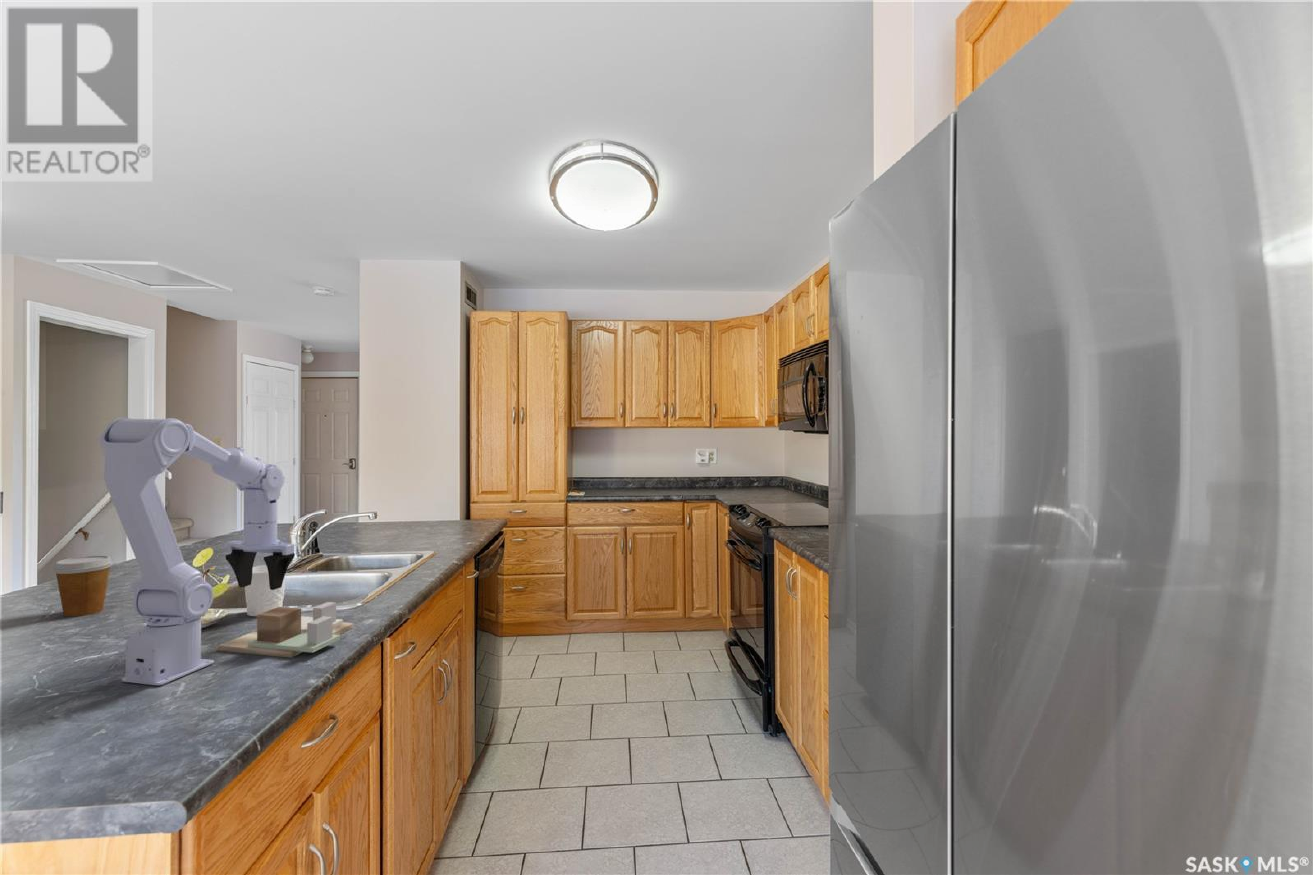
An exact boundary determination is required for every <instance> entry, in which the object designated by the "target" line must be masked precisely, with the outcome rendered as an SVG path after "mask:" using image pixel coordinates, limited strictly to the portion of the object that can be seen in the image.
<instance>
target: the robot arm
mask: <svg viewBox="0 0 1313 875" xmlns="http://www.w3.org/2000/svg"><path fill="white" fill-rule="evenodd" d="M97 441H98V443H99V445H100V448H101V451H102V454H103V456H104V470H103V472H104V473H103V477H104V478H103V480H104V483H105V485H106V489H107V491H108V493H109V495H110V499H111V500H112V503H113V506H114V507H115V510H116V513H117V515H118V518H119V520H120V522H121V525H122V527H123V530H124V532H125V535H126V537H127V540H128V542H129V544H130V547H131V549H132V553H133V554H134V557H135V559H136V562H137V564H138V566H139V567H138V568H139V569H140V572H141V574H140V575H139V576H138V577H137V578H136V579H135V580H134V581H133V582H132V584H131V588H132V592H133V603H132V605H133V610H134V611H135V613H136V614H137V615H138V616H140V617H142V623H144V624H145V626H143V627H142V628H141V629H139V630H137V631H134V632H133V633H131V634H130V635H129V636H128V638H127V640H126V643H125V676H124V677H122V678H121V682H122V683H123V682H124V683H131V684H140V685H141V684H143V685H151V686H162V685H165V684H167V683H170V682H172V681H175V680H177V679H179V678H181V677H182V678H183V676H187V675H189V674H191V673H193V672H196V671H198V670H201V669H203V668H205V667H208V666H210V665H212V664H214V663H215V660H214V659H207V658H202V618H203V617H206V613H207V612H208V611H209V609H210V608H211V606H212V604H213V603H214V602H213V601H214V588H213V587H212V585H211V584H210V583H209V582H207V581H206V580H205V579H204V577H203V574H202V572H201V571H199V570H198V569H197V568H195V567H193V566H191V565H189V564H188V563H187V562H185V560H184V557H183V555H182V551H181V549H180V545H179V544H178V541H177V538H176V535H175V533H174V530H173V528H172V525H171V522H170V520H169V516H168V513H167V511H166V508H165V506H164V503H163V501H162V497H161V496H160V493H159V490H158V487H157V484H156V482H155V480H156V479H157V478H158V475H160V474H162V473H164V472H165V471H166V470H167V469H168V468H169V467H170V466H171V465H172V464H174V462H175V461H176V460H177V459H178V458H179V457H180V456H181V455H183V454H185V455H186V456H190V457H192V458H195V459H197V460H200V461H201V462H204V463H206V464H210V466H211V469H212V470H211V471H213V473H214V474H215V475H217V476H220V477H222V478H224V479H226V480H229V481H231V482H233V483H235V485H236V487H237V489H238V490H239V491H243V525H242V526H243V528H242V529H243V533H242V534H243V539H242V540H231V541H227V542H226V552H230V553H229V554H225V560H226V561H227V562H228V563H229V565H230V566H231V568H232V570H233V573H234V575H235V578H236V581H237V584H238V587H239V588H245V586H249V585H251V581H252V569H253V567H254V563H255V559H256V556H257V553H260V554H261V553H262V554H270V555H267V556H263V560H264V563H265V565H266V566H267V569H268V573H269V586H270V590H275V589H278V588H281V587H282V583H283V580H284V576H285V577H286V574H287V571H288V568H289V566H290V564H291V562H292V561H293V560H294V558H295V556H296V553H295V544H294V543H289V542H285V541H281V540H280V539H278V500H279V499H280V497H281V490H282V488H283V485H284V484H285V480H286V479H285V476H284V473H283V471H282V469H281V468H280V467H279V466H277V465H276V464H273V463H272V464H267V463H264V462H263V461H262V459H261V458H259V457H254V456H252V455H249V454H247V453H246V452H245V449H244V448H242V447H239V446H237V447H235V446H234V447H226V448H223V447H222V446H220V445H219V444H217V443H215V442H214V441H212V440H210V439H208V438H207V437H206V436H203V435H202V434H200V433H199V432H197V431H195V430H194V426H193V425H191V424H189V423H184V422H183V421H181V420H179V419H177V418H164V419H163V418H131V417H130V418H129V417H120V418H116V419H114V420H112V421H111V422H110V423H108V424H107V426H106V427H105V428H104V430H103V431H102V433H101V434H100V436H99V438H98V439H97Z"/></svg>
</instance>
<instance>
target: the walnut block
mask: <svg viewBox="0 0 1313 875" xmlns="http://www.w3.org/2000/svg"><path fill="white" fill-rule="evenodd" d="M301 616H302V608H301V607H290V606H289V607H288V606H283V607H277V608H274V609H272V610H269V611H266V612H263V613H261V614H258V615H257V616H256V621H257V622H256V625H257V626H256V630H257V641H263V642H274V643H281V642H283V641H285V640H288V639H290V638H292V637H295V636H297V635H299V634H301Z"/></svg>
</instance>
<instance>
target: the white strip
mask: <svg viewBox="0 0 1313 875" xmlns="http://www.w3.org/2000/svg"><path fill="white" fill-rule="evenodd" d="M323 616H326V617H333V628H334V627H336V626H339V625H341V624H343V623H344V619H341V618H339V619H338V618H337V602H335V601H332V602H331V601H327V602H324V603H322V604H319V605H316V606H314V607H313V608H312V616H303V615H301V632H307V623H309V622H311V621H314V620H316V619H318V618H321V617H323Z"/></svg>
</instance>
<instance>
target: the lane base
mask: <svg viewBox="0 0 1313 875" xmlns="http://www.w3.org/2000/svg"><path fill="white" fill-rule="evenodd" d="M352 629H354V623H351V622H343V624H341V625H339V626H336V627H334V628H333V635H340V636H341V635H342V634H344V633H346V632H349V631H350V630H352ZM255 639H257V629H256V630H253V631H251V632H248V633H247V634H244V635H242V636H239V637H236V638H234V639H232V640H228V641H226V642H223V643H221V644H219V645H218V652H230V653H239V654H240V653H241V654H250V655H251V654H252V655H261V656H269V657H271V656H272V657H280V658H281V657H283V658H294V657H296V656H297V655H301V654H302V653H303V652H301V651H291V650H280V649H270V648H259V647H249V646H248V642H250V641H253V640H255Z"/></svg>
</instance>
